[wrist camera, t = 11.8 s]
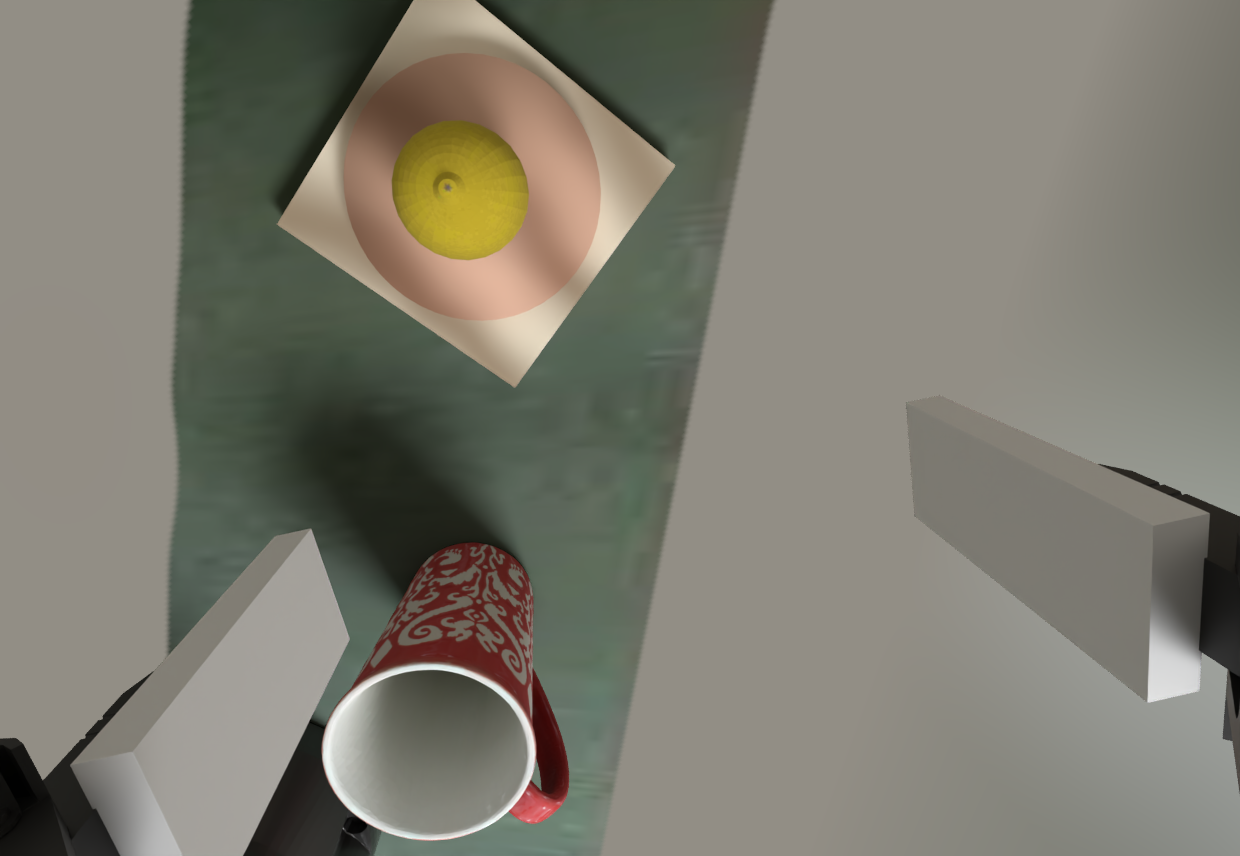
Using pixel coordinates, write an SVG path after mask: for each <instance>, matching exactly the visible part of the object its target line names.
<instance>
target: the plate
mask: <svg viewBox="0 0 1240 856" xmlns="http://www.w3.org/2000/svg"><path fill="white" fill-rule="evenodd" d="M455 120H463V121H467V122H472V123H476V124H480V125H482V126H484V127H485V128H487V129H489V130H491V131H493V132H495V133H497V134H498V135H499V136H500V137H501V138H502V139H503V140H504V141H506V142H507V143H508V144H509V145H510V146H511V148H512V149H513V151H514V152H515V153H516V155H517V156H518V158H519V159H520V161H521V164H522V166H523V169H524V172H525V174H526V177H527V183H528V190H529V200H528V209H527V213H526V216H525V219H524V221H523V224H522V227H521V228H520V230H519V231H518V232H517V234H516V235H515V237H514V238H513V240H512V241H510V242H509V243H508V244H507V245H506V246H505V247H503V248H502V249H501V250H500V251H498V252H496V253H493V254H491V255H489V256H487V257H485V258H479V259H473V260H457V259H450V258H447V257H444V256H441V255H438V254H435V253H434V252H432V251H430V250H429V249H427V248H426V247H424V246H423V245H421V244H420V243H419V242H418V241H417V240H416V239H415V238H414V237H413V236H412V235H411V234H410V233H409V232H408V231H407V230H406V228H405V226H404V225H403V223H402V221H401V219H400V218H399V216H398V214H397V210H396V207H395V204H394V201H393V196H392V176H393V170H394V165H395V162H396V160H397V158H398V156H399V154H400V152H401V149H402V148H403V147H404V146H405V144H406V143H407V142H408V141H409V140H410V139H411V137H412V136H413V135H415V134H416V133H418V132H419V131H421V130H422V129H424V128H425V127H427V126H430V125H433V124H436V123H439V122H442V121H455ZM674 167H675V165H674V164H673V163H672V162H670V161H669V160H668V159H667V158H666V157H664V156H663V155H662V154H661V153H659V152H658V151H657V150H656V149H655V148H653V147H652V146H651V145H650V144H649V143H647V142H646V141H645V140H644V139H643V138H641V137H640V136H639V135H638V134H636V133H635V132H634V131H633V130H632V129H630V128H629V127H628V126H627V125H626V124H624V123H623V122H622V121H621V120H620V119H618V118H617V117H616V116H615V115H613V114H612V113H611V112H610V111H609V110H607V109H606V108H605V107H604V106H603V105H601V104H600V103H599V102H598V101H596V100H595V99H594V98H593V97H592V96H590V95H589V94H588V93H587V92H586V91H584V90H583V89H582V88H581V87H580V86H578V85H577V84H576V83H575V82H573V81H572V80H571V79H570V78H569V77H567V76H566V75H565V74H564V73H563V72H561V71H560V70H559V69H558V68H557V67H555V66H554V65H553V64H552V63H550V62H549V61H548V60H547V59H546V58H544V57H543V56H542V55H541V54H540V53H538V52H537V51H536V50H535V49H534V48H532V47H531V46H530V45H529V44H527V43H526V42H525V41H524V40H523V39H521V38H520V37H519V36H518V35H517V34H515V33H514V32H513V31H512V30H511V29H509V28H508V27H507V26H506V25H504V24H503V23H502V22H501V21H500V20H498V19H497V18H496V17H495V16H494V15H492V14H491V13H490V12H489V11H488V10H486V9H485V8H484V7H483V6H481V5H480V4H479V3H478V2H477V1H475V0H414V1H413V2H412V4H411V5H410V7H409V9H408V10H407V12H406V14H405V15H404V17H403V19H402V20H401V22H400V23H399V25H398V27H397V28H396V30H395V32H394V33H393V35H392V37H391V38H390V40H389V41H388V43H387V45H386V46H385V48H384V50H383V51H382V53H381V55H380V56H379V58H378V60H377V61H376V63H375V64H374V66H373V68H372V69H371V71H370V73H369V74H368V76H367V78H366V79H365V81H364V82H363V84H362V86H361V87H360V89H359V91H358V92H357V94H356V96H355V97H354V99H353V100H352V102H351V104H350V105H349V107H348V109H347V110H346V112H345V114H344V115H343V117H342V118H341V120H340V122H339V123H338V125H337V127H336V128H335V130H334V132H333V133H332V135H331V137H330V138H329V140H328V141H327V143H326V145H325V146H324V148H323V150H322V151H321V153H320V155H319V156H318V158H317V159H316V161H315V163H314V164H313V166H312V168H311V169H310V171H309V173H308V174H307V176H306V177H305V179H304V181H303V182H302V184H301V186H300V187H299V189H298V191H297V192H296V194H295V196H294V197H293V199H292V200H291V202H290V204H289V205H288V207H287V209H286V210H285V212H284V214H283V215H282V217H281V218H280V220H279V222H278V223H277V225H279V226H280V227H282V228H283V229H285V230H286V231H287V232H289V233H290V234H292V235H293V236H295V237H296V238H298V239H299V240H301V241H302V242H303V243H305V244H306V245H308V246H309V247H311V248H312V249H314V250H315V251H317V252H318V253H319V254H321V255H322V256H324V257H325V258H327V259H328V260H330V261H331V262H333V263H334V264H335V265H337V266H338V267H340V268H341V269H343V270H344V271H346V272H347V273H349V274H350V275H352V276H353V277H354V278H356V279H357V280H359V281H360V282H362V283H363V284H365V285H366V286H368V287H369V288H370V289H372V290H373V291H375V292H376V293H378V294H379V295H381V296H382V297H384V298H385V299H386V300H388V301H389V302H391V303H392V304H394V305H395V306H397V307H398V308H400V309H401V310H402V311H404V312H405V313H407V314H408V315H410V316H411V317H413V318H414V319H416V320H417V321H418V322H420V323H421V324H423V325H424V326H426V327H427V328H429V329H430V330H432V331H433V332H435V333H436V334H437V335H439V336H440V337H442V338H443V339H445V340H446V341H448V342H449V343H451V344H452V345H453V346H455V347H456V348H458V349H459V350H461V351H462V352H464V353H465V354H467V355H468V356H469V357H471V358H472V359H474V360H475V361H477V362H478V363H480V364H481V365H483V366H484V367H485V368H487V369H488V370H490V371H491V372H493V373H494V374H496V375H497V376H499V377H500V378H501V379H503V380H504V381H506V382H507V383H509V384H510V385H512V386H513V387H516V386H517V384H518V383H519V381H520V380H521V379H522V377H523V376H524V375H525V373H526V372H527V370H528V369H529V368H530V366H531V365H532V363H533V362H534V361H535V359H536V358H537V357H538V355H539V354H540V352H541V351H542V350H543V348H544V347H545V345H546V344H547V343H548V341H549V340H550V339H551V337H552V336H553V334H554V333H555V332H556V330H557V329H558V327H559V326H560V325H561V323H562V322H563V321H564V319H565V318H566V316H567V315H568V314H569V312H570V311H571V309H572V308H573V307H574V305H575V304H576V303H577V301H578V300H579V298H580V297H581V296H582V294H583V293H584V292H585V290H586V289H587V287H588V286H589V285H590V283H591V282H592V280H593V279H594V278H595V276H596V275H597V274H598V272H599V271H600V269H601V268H602V267H603V265H604V264H605V262H606V261H607V260H608V258H609V257H610V256H611V254H612V253H613V251H614V250H615V249H616V247H617V246H618V244H619V243H620V242H621V240H622V239H623V238H624V236H625V235H626V233H627V232H628V231H629V229H630V228H631V226H632V225H633V224H634V222H635V221H636V220H637V218H638V217H639V215H640V214H641V213H642V211H643V210H644V209H645V207H646V206H647V204H648V203H649V202H650V200H651V199H652V197H653V196H654V195H655V193H656V192H657V191H658V189H659V188H660V186H661V185H662V184H663V182H664V181H665V179H666V178H667V177H668V175H669V174H670V173H671V171H672V170H673V168H674Z"/></svg>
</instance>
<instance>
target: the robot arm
mask: <svg viewBox="0 0 1240 856" xmlns="http://www.w3.org/2000/svg"><path fill="white" fill-rule="evenodd" d="M906 409H907V423H908V436H909V449H910V462H911V477H912V489H913V502H914V516H915V517H916V518H918V519H919V520H920V521H921V522H922V523H924V524H925V525H926V526H927V527H929V528H930V529H931V530H932V531H934V532H935V533H936V534H937V535H939V536H940V537H941V538H942V539H944V540H945V541H946V542H948V543H949V544H950V545H951V546H952V547H954V548H955V549H956V550H957V551H959V552H960V553H961V554H962V555H964V556H965V557H966V558H967V559H969V560H970V561H971V562H972V563H974V564H975V565H976V566H977V567H979V568H980V569H981V570H982V571H984V572H985V573H986V574H988V575H989V576H990V577H991V578H992V579H994V580H995V581H996V582H997V583H999V584H1000V585H1001V586H1002V587H1004V588H1005V589H1006V590H1008V591H1009V592H1010V593H1011V594H1013V595H1014V596H1015V597H1016V598H1017V599H1019V600H1020V601H1021V602H1022V603H1024V604H1025V605H1026V606H1027V607H1029V608H1030V609H1031V610H1032V611H1034V612H1035V613H1036V614H1037V615H1039V616H1040V617H1041V618H1042V619H1044V620H1045V621H1046V622H1047V623H1049V624H1050V625H1051V626H1052V627H1054V628H1055V629H1056V630H1057V631H1059V632H1060V633H1061V634H1062V635H1064V636H1065V637H1066V638H1067V639H1069V640H1070V641H1071V642H1072V643H1074V644H1075V645H1076V646H1077V647H1079V648H1080V649H1081V650H1082V651H1084V652H1085V653H1086V654H1087V655H1088V656H1090V657H1091V658H1092V659H1093V660H1095V661H1096V662H1097V663H1098V664H1100V665H1101V666H1102V667H1103V668H1105V669H1106V670H1107V671H1108V672H1110V673H1111V674H1112V675H1113V676H1115V677H1116V678H1117V679H1118V680H1120V681H1121V682H1122V683H1123V684H1125V685H1126V686H1127V687H1128V688H1130V689H1131V690H1132V691H1133V692H1135V693H1136V694H1137V695H1138V696H1140V697H1141V698H1142V699H1143V700H1145V701H1146V702H1153V701H1157V700H1161V699H1166V698H1170V697H1174V696H1179V695H1183V694H1188V693H1192V692H1197V691H1199V690H1200V672H1201V656H1202V653H1204V654H1205V655H1207V656H1208V657H1210V658H1212V659H1213V660H1215V661H1216V662H1218V663H1219V664H1221V665H1222V666H1224V667H1225V668H1227V669H1228V672H1227V687H1226V701H1225V714H1224V729H1223V739H1226V740H1230V741H1233V748H1234V755H1235V762H1236V769H1237V777H1238V784H1239V791H1240V516H1237V515H1235V514H1233V513H1230V512H1228V511H1226V510H1223V509H1221V508H1218V507H1216V506H1214V505H1211V504H1209V503H1207V502H1204V501H1202V500H1200V499H1197V498H1195V497H1192V496H1190V495H1188V494H1184V495H1182V494H1181V492H1180V491H1178V490H1176V489H1173V488H1171V487H1168V486H1166V485H1160V484H1159V482H1157V481H1155V480H1152V479H1150V478H1147V477H1145V476H1143V475H1140V474H1138V473H1136V472H1133V471H1129V470H1124V469H1120V468H1115V467H1110V466H1106V465H1101V464H1096V463H1093V462H1091V461H1089V460H1087V459H1084V458H1082V457H1080V456H1077V455H1075V454H1073V453H1071V452H1068V451H1066V450H1064V449H1062V448H1059V447H1057V446H1055V445H1052V444H1050V443H1048V442H1045V441H1043V440H1041V439H1039V438H1036V437H1034V436H1032V435H1029V434H1027V433H1025V432H1023V431H1020V430H1018V429H1015V428H1013V427H1011V426H1009V425H1006V424H1004V423H1002V422H1000V421H997V420H995V419H993V418H991V417H988V416H986V415H984V414H981V413H979V412H977V411H975V410H972V409H970V408H968V407H965V406H963V405H961V404H958V403H956V402H954V401H952V400H949V399H947V398H945V397H942V396H940V395H939V396H934V397H929V398H924V399H920V400H915V401H911V402H906ZM349 640H350V639H349V636H348V633H347V630H346V627H345V624H344V621H343V618H342V616H341V613H340V610H339V607H338V604H337V601H336V598H335V596H334V593H333V590H332V587H331V584H330V581H329V578H328V575H327V573H326V570H325V567H324V564H323V561H322V558H321V555H320V553H319V550H318V547H317V544H316V541H315V538H314V535H313V532H312V530H311V529H306V530H302V531H297V532H292V533H288V534H283V535H278V536H275V537H274V538H273V539H272V540H271V541H270V543H269V544H268V545H267V546H266V547H265V548H264V549H263V550H262V551H261V553H260V554H259V555H258V556H257V557H256V558H255V559H254V560H253V562H252V563H251V564H250V565H249V566H248V567H247V568H246V569H245V570H244V572H243V573H242V574H241V575H240V576H239V577H238V578H237V579H236V581H235V582H234V583H233V584H232V585H231V586H230V587H229V588H228V589H227V591H226V592H225V593H224V594H223V595H222V596H221V597H220V598H219V600H218V601H217V602H216V603H215V604H214V605H213V606H212V607H211V608H210V610H209V611H208V612H207V613H206V614H205V615H204V616H203V617H202V618H201V620H200V621H199V622H198V623H197V624H196V625H195V626H194V627H193V629H192V630H191V631H190V632H189V633H188V634H187V635H186V636H185V637H184V639H183V640H182V641H181V642H180V643H179V644H178V645H177V646H176V648H175V649H174V650H173V651H172V652H171V653H170V654H169V655H168V656H167V658H166V659H165V660H164V661H163V662H162V663H161V664H160V665H159V667H158V668H157V669H156V670H155V671H153V672H152V673H150V674H149V675H148V676H146V677H145V678H144V679H142V680H141V681H139V682H138V683H137V684H135V685H134V686H133V687H131V688H130V689H129V690H127V691H126V692H125V693H123V694H122V695H121V696H120V697H119V699H118V700H117V701H116V702H115V703H114V704H113V705H112V706H111V707H110V708H109V709H108V711H107V712H106V713H105V714H104V715H103V720H98V721H97V723H96V724H95V725H94V726H93V727H92V728H91V729H90V730H89V731H88V732H87V734H86V738H85V739H81V740H80V741H79V742H78V743H77V744H76V745H75V746H74V748H73V749H72V750H71V751H70V752H69V753H68V754H67V755H66V756H65V757H64V758H63V759H62V761H61V762H60V763H59V764H58V765H57V766H56V767H55V768H54V769H53V771H52V772H51V773H50V774H49V775H48V776H47V777H46V778H45V779H44V780H42V779H41V777H40V775H39V773H38V771H37V769H36V767H35V765H34V763H33V762H32V760H31V758H30V756H29V754H28V752H27V750H26V748H25V747H24V745H23V743H22V742H20V741H19V740H18V739H16V738H8V739H7V738H6V739H0V856H374V854H375V851H376V847H377V844H378V841H379V837H380V834H381V830H379V829H377V828H375V827H373V826H371V825H369V824H368V823H366V822H364V821H363V820H361V819H360V818H359V817H357V816H356V815H355V814H353V813H352V812H351V811H350V810H349V809H348V808H347V807H345V805H344V804H343V803H342V802H341V801H340V800H339V798H338V797H337V795H336V794H335V793H334V791H333V789H332V787H331V786H330V784H329V782H328V779H327V777H326V774H325V771H324V767H323V762H322V753H321V750H322V741H323V735H324V731H325V729H323V728H321V727H319V726H316V725H314V724H311V723H309V721H310V719H311V717H312V715H313V713H314V711H315V709H316V707H317V705H318V703H319V701H320V698H321V696H322V694H323V692H324V690H325V688H326V686H327V684H328V682H329V680H330V678H331V676H332V674H333V672H334V670H335V668H336V666H337V664H338V662H339V660H340V658H341V656H342V654H343V652H344V650H345V648H346V646H347V644H348V642H349Z"/></svg>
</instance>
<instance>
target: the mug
mask: <svg viewBox="0 0 1240 856" xmlns="http://www.w3.org/2000/svg"><path fill="white" fill-rule="evenodd" d="M532 657H533V591H532V587H531V583H530V580H529V577H528V575H527V573H526V572H525V570H524V569H523V567H522V566H521V565H520V563H519V562H518V561H517V560H516V559H515V558H513V557H512V556H511V555H509V554H508V553H506V552H505V551H503V550H501V549H499V548H496V547H494V546H491V545H487V544H482V543H474V542H473V543H461V544H456V545H452V546H449V547H446V548H444V549H442V550H440V551H438V552H436V553H435V554H433V555H432V556H431V557H430V558H428V559H427V560H426V561H425V562H424V563H423V565H422V566H421V567H420V568H419V570H418V572H417V573H416V575H415V577H414V579H413V580H412V581H411V583H410V585H409V587H408V590H407V591H406V593H405V595H404V596H403V598H402V600H401V601H400V603H399V604H398V606H397V608H396V610H395V612H394V613H393V615H392V617H391V618H390V620H389V623H388V625H387V626H386V628H385V630H384V632H383V633H382V635H381V637H380V639H379V640H378V642H377V644H376V646H375V647H374V649H373V651H372V653H371V654H370V656H369V658H368V659H367V661H366V663H365V664H364V666H363V668H362V670H361V672H360V674H359V675H358V677H357V679H356V681H355V682H354V684H353V686H352V688H351V689H350V690H349V691H348V692H347V693H346V694H345V695H344V696H343V697H342V699H341V700H340V701H339V702H338V704H337V705H336V707H335V708H334V710H333V712H332V713H331V715H330V717H329V719H328V722H327V724H326V727H325V731H324V735H323V741H322V750H321V753H322V762H323V767H324V771H325V774H326V777H327V779H328V782H329V784H330V786H331V787H332V789H333V791H334V793H335V794H336V795H337V797H338V798H339V800H340V801H341V802H342V803H343V804H344V805H345V807H347V808H348V809H349V810H350V811H351V812H352V813H353V814H355V815H356V816H357V817H359V818H360V819H361V820H363V821H364V822H366V823H368V824H369V825H371V826H373V827H375V828H377V829H379V830H382V831H384V832H387V833H390V834H393V835H396V836H400V837H404V838H409V839H414V840H446V839H453V838H457V837H461V836H464V835H468V834H471V833H473V832H476V831H478V830H481V829H483V828H485V827H487V826H488V825H490V824H492V823H494V822H495V821H497V820H498V819H500V818H501V817H502V816H503V815H505V814H506V813H507V812H508V811H509V812H510V813H511V814H512V815H514V816H515V817H516V818H518V819H519V820H521V821H524V822H526V823H538V822H541V821H543V820H545V819H547V818H548V817H549V816H550V815H552V814H553V813H554V812H555V811H556V810H557V809H558V808H559V807H560V806H561V805H562V804H563V802H564V800H565V799H566V796H567V793H568V788H569V768H568V761H567V755H566V751H565V747H564V743H563V739H562V736H561V733H560V730H559V727H558V724H557V722H556V719H555V716H554V714H553V711H552V709H551V706H550V704H549V702H548V699H547V697H546V694H545V692H544V690H543V688H542V686H541V684H540V681H539V679H538V677H537V675H536V673H535V671H534V669H533V667H532ZM536 759H537V762H538V766H539V771H540V777H541V789H542V791H541V790H540V789H539V788H538V787H537V786H536V785H535V784H534V783H533V782H532V781H531V777H532V775H533V771H534V768H535V762H536Z"/></svg>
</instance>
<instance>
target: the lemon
mask: <svg viewBox="0 0 1240 856" xmlns="http://www.w3.org/2000/svg"><path fill="white" fill-rule="evenodd" d="M392 196H393V201H394V204H395V207H396V210H397V214H398V216H399V218H400V219H401V221H402V223H403V225H404V226H405V228H406V230H407V231H408V232H409V233H410V234H411V235H412V236H413V237H414V238H415V239H416V240H417V241H418V242H419V243H420V244H421V245H423V246H424V247H426V248H427V249H429V250H430V251H432V252H434V253H435V254H438V255H441V256H444V257H447V258H450V259H457V260H473V259H479V258H485V257H487V256H489V255H491V254H493V253H496V252H498V251H500V250H501V249H502V248H503V247H505V246H506V245H507V244H508V243H509V242H510V241H512V240H513V238H514V237H515V235H516V234H517V232H518V231H519V230H520V228H521V227H522V224H523V221H524V219H525V216H526V213H527V209H528V200H529V190H528V183H527V177H526V174H525V172H524V169H523V166H522V164H521V161H520V159H519V158H518V156H517V155H516V153H515V152H514V151H513V149H512V148H511V146H510V145H509V144H508V143H507V142H506V141H504V140H503V139H502V138H501V137H500V136H499V135H498V134H497V133H495V132H493V131H491V130H489V129H487V128H485V127H484V126H482V125H480V124H476V123H472V122H467V121H463V120H455V121H442V122H439V123H436V124H433V125H430V126H427V127H425V128H424V129H422V130H421V131H419V132H418V133H416V134H415V135H413V136H412V137H411V139H410V140H409V141H408V142H407V143H406V144H405V146H404V147H403V148H402V149H401V152H400V154H399V156H398V158H397V160H396V162H395V165H394V170H393V176H392Z"/></svg>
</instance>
